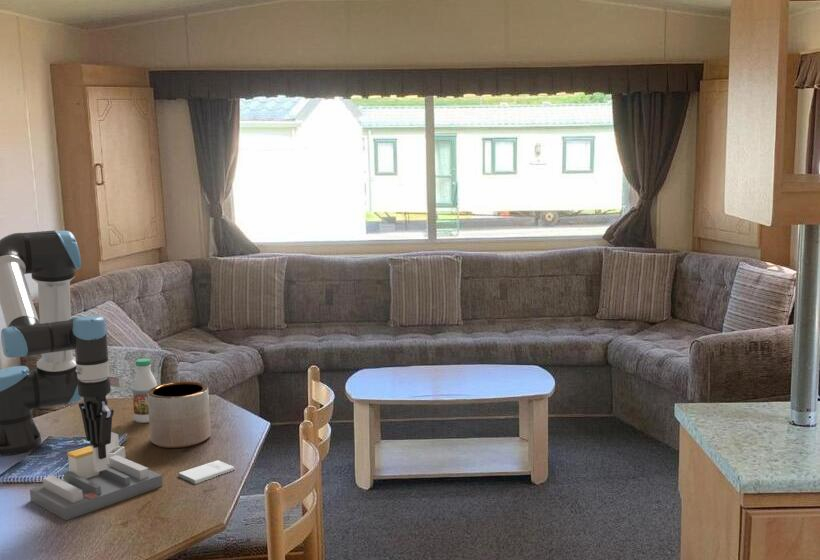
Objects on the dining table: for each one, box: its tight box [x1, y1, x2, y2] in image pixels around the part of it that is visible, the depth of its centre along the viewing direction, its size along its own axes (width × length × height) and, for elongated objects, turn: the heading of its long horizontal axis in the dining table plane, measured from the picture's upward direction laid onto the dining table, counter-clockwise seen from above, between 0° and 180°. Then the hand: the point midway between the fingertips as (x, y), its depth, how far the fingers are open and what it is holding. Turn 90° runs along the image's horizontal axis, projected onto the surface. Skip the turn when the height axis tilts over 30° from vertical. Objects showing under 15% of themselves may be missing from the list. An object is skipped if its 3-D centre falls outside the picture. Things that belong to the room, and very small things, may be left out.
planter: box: [148, 381, 212, 449], centre depth 249 cm, size 18×18×16 cm
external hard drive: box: [177, 459, 235, 485], centre depth 223 cm, size 2×8×12 cm
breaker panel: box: [29, 455, 163, 521], centre depth 211 cm, size 18×26×5 cm
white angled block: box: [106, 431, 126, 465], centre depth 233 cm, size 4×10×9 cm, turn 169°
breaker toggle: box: [67, 445, 100, 479], centre depth 214 cm, size 4×6×7 cm
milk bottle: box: [132, 358, 158, 424], centre depth 268 cm, size 8×8×20 cm
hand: (100, 469), depth 208 cm, fingers closed
